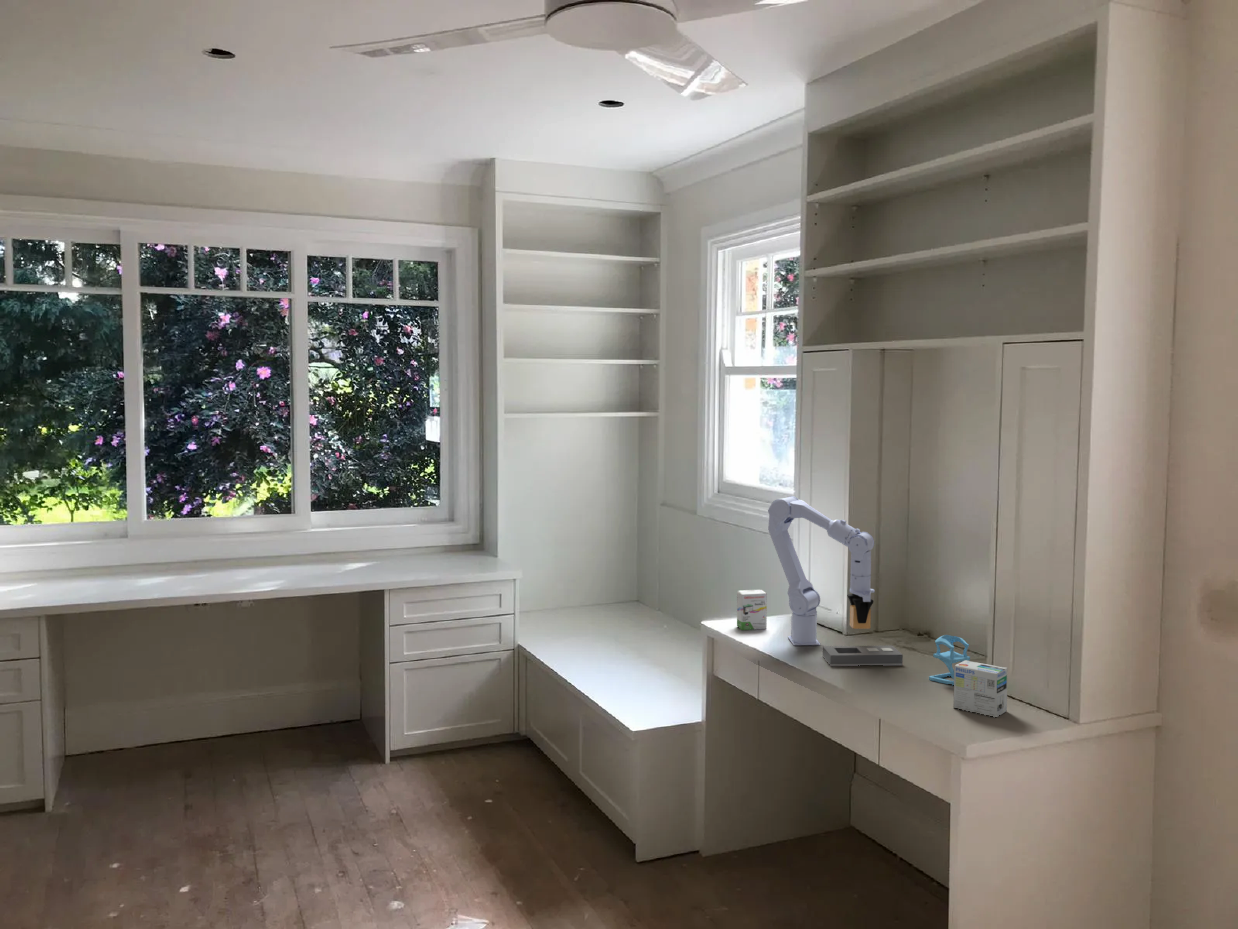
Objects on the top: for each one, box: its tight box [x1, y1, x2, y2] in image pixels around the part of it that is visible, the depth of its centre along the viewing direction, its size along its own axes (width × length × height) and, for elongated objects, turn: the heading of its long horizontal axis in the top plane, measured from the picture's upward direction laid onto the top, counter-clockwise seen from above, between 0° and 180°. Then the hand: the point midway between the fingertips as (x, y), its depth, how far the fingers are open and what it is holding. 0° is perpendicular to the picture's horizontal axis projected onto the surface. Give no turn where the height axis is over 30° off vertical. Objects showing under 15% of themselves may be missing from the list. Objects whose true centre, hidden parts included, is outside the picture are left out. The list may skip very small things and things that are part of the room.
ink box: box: [736, 589, 768, 631], centre depth 314 cm, size 8×5×12 cm, turn 101°
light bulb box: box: [952, 660, 1008, 718], centre depth 236 cm, size 11×7×11 cm, turn 48°
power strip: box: [822, 644, 904, 667], centre depth 277 cm, size 10×20×3 cm, turn 91°
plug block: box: [849, 604, 872, 630], centre depth 287 cm, size 4×5×6 cm
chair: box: [928, 634, 971, 686], centre depth 257 cm, size 8×8×12 cm
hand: (859, 621), depth 287 cm, fingers closed on plug block, 4 cm apart
